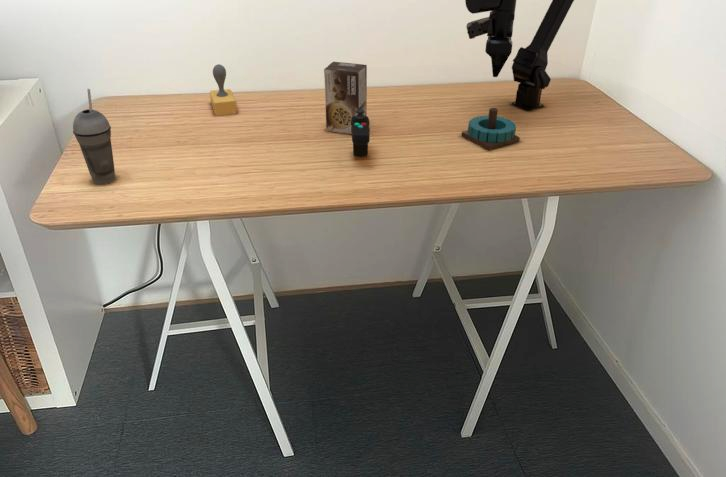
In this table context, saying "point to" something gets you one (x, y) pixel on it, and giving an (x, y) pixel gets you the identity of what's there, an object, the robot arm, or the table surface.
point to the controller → (360, 133)
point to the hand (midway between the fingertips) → (495, 71)
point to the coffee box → (344, 94)
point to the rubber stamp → (222, 94)
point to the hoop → (480, 131)
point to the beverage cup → (95, 144)
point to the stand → (491, 125)
